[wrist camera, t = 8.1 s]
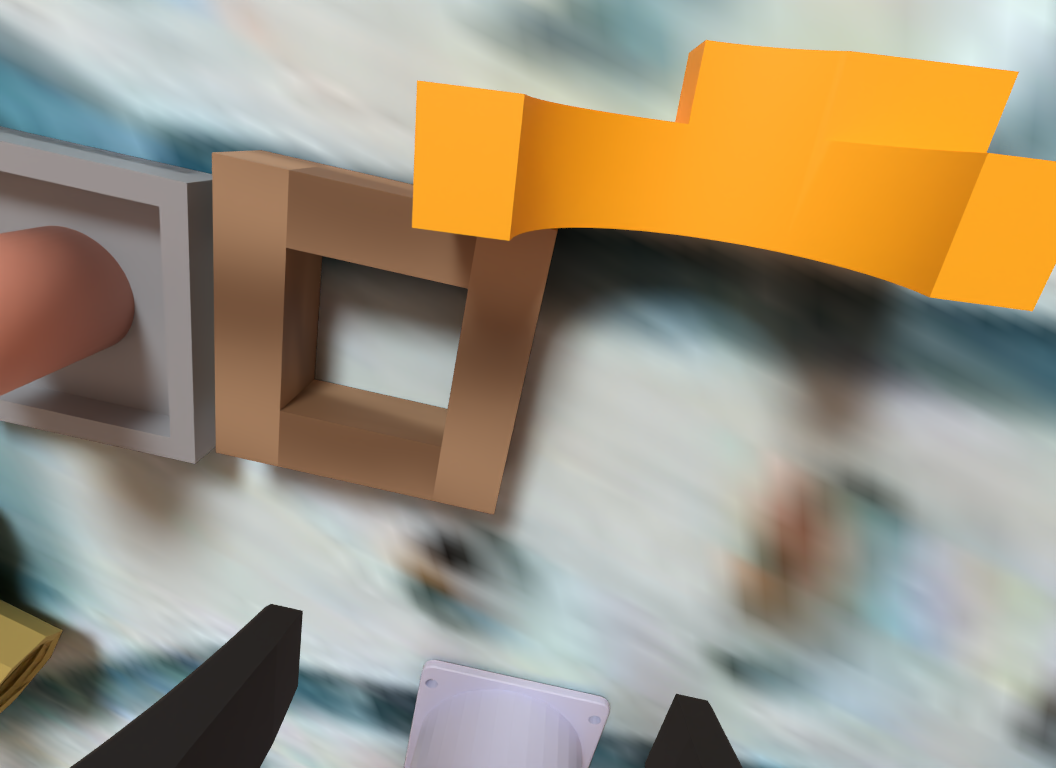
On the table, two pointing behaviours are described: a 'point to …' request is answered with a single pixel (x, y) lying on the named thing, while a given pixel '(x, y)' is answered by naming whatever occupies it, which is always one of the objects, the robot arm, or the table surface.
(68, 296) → the plug
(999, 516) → the table surface
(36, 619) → the ball valve
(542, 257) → the square frame
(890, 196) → the pipe clamp
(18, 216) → the tray
